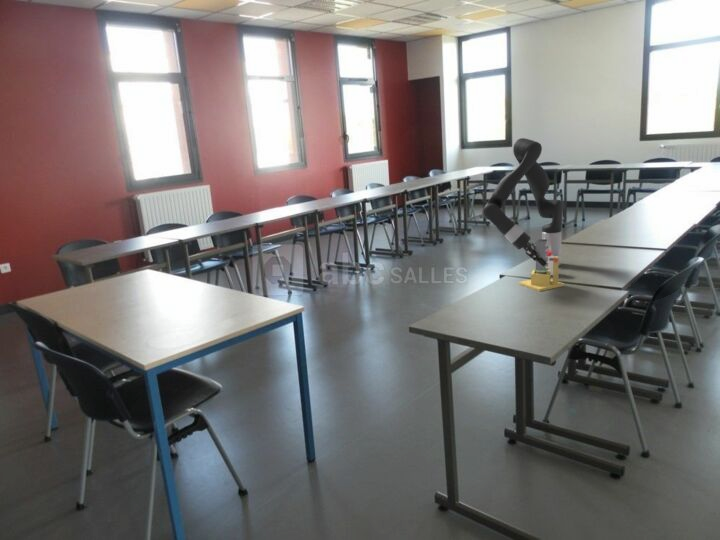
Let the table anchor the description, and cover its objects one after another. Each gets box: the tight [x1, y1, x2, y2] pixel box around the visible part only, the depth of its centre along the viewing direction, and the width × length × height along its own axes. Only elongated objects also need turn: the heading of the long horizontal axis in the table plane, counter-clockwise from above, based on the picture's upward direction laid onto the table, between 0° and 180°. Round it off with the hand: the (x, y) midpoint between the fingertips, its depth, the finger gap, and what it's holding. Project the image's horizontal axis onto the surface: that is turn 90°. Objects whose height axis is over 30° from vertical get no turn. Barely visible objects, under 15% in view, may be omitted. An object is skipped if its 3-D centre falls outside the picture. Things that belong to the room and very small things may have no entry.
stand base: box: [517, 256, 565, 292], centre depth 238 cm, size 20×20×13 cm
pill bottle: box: [546, 251, 554, 276], centre depth 255 cm, size 8×8×11 cm
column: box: [534, 238, 548, 274], centre depth 237 cm, size 6×5×19 cm
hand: (545, 263), depth 236 cm, fingers closed on column, 4 cm apart
